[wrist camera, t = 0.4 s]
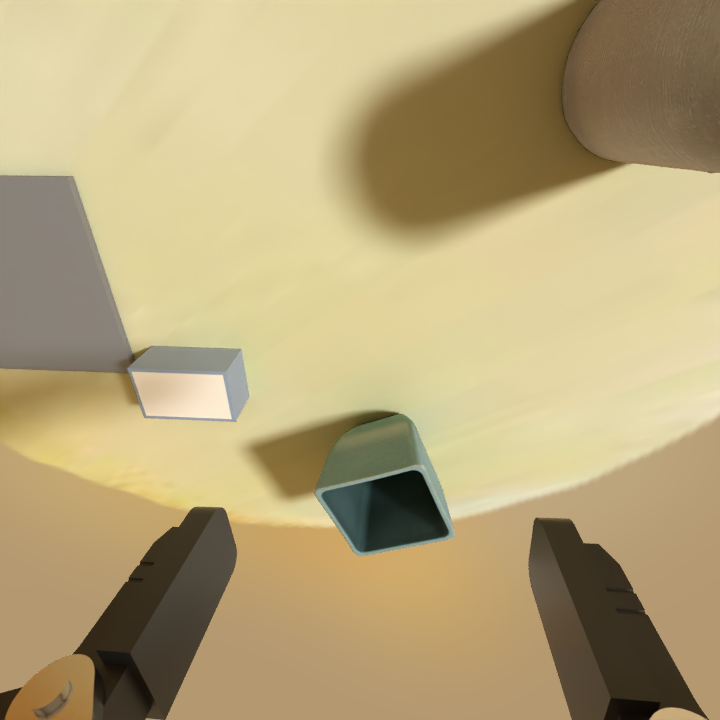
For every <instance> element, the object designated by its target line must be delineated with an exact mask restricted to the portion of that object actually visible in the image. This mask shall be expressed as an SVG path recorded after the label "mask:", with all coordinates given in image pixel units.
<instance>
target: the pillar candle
mask: <svg viewBox="0 0 720 720" xmlns="http://www.w3.org/2000/svg"><path fill="white" fill-rule="evenodd" d="M562 102H563V111H564V116H565V119H566V122H567V124H568V126H569V128H570V130H571V131H572V133H573V134H574V135H575V137H576V138H577V139H578V141H579V142H580V143H581V145H583V146H584V147H585V148H586V149H587V150H589V151H590V152H591V153H593V154H595V155H597V156H599V157H601V158H605V159H607V160H614V161H616V162H626V163H636V164H644V165H652V166H660V167H669V168H680V169H688V170H696V171H703V172H708V173H720V0H600V1H599V2H598V3H597V4H596V6H595V7H594V8H593V9H592V11H591V12H590V14H589V15H588V17H587V18H586V20H585V21H584V23H583V25H582V27H581V28H580V30H579V32H578V34H577V36H576V38H575V40H574V42H573V45H572V47H571V50H570V52H569V55H568V59H567V62H566V67H565V70H564V75H563V85H562Z"/></svg>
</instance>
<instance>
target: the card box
mask: <svg viewBox="0 0 720 720" xmlns="http://www.w3.org/2000/svg"><path fill="white" fill-rule="evenodd" d="M127 370H128V373H129V375H130V378H131V381H132V384H133V387H134V390H135V393H136V396H137V399H138V402H139V404H140V407H141V410H142V413H143V416H144V418H158V419H182V420H205V421H229V422H236V420H237V418H238V416H239V414H240V413H241V411H242V409H243V407H244V405H245V403H246V401H247V399H248V397H249V392H248V386H247V380H246V374H245V368H244V362H243V356H242V350H241V349H227V348H197V347H168V346H151V347H150V348H149V349H148V350H147V351H146V352H145V353H144V354H142V355H141V356H140V357H139V358H138V359H137V360H136V361H135V362H133V363H132V364H131V365H130V366H129V367H128V368H127Z"/></svg>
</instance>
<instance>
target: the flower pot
mask: <svg viewBox="0 0 720 720" xmlns="http://www.w3.org/2000/svg"><path fill="white" fill-rule="evenodd" d="M314 494H315V496H316V498H317V499H318V501H319V502H320V503H321V505H322V506H323V508H324V509H325V511H326V512H327V513H328V515H329V516H330V518H331V519H332V520H333V522H334V523H335V525H336V526H337V528H338V529H339V531H340V532H341V533H342V535H343V536H344V538H345V540H346V541H347V542H348V544H349V546H350V548H351V549H352V551H353V552H354V553H355V554H356V555H358V556H366V555H372V554H377V553H382V552H387V551H391V550H397V549H401V548H407V547H412V546H417V545H424V544H428V543H433V542H439V541H444V540H448V539H450V538H453V537H454V536H455V532H454V529H453V524H452V521H451V517H450V514H449V510H448V507H447V503H446V500H445V496H444V493H443V489H442V486H441V484H440V481H439V479H438V476H437V474H436V472H435V470H434V468H433V466H432V463H431V461H430V459H429V456H428V454H427V452H426V450H425V447H424V445H423V443H422V441H421V438H420V436H419V434H418V431H417V429H416V427H415V425H414V423H413V422H412V421H411V420H410V419H409V418H408V417H407V416H405V415H403V414H398V415H394V416H390V417H387V418H383V419H380V420H376V421H373V422H369V423H366V424H362V425H359V426H356V427H354V428H352V429H351V430H349V431H348V432H346V433H345V434H344V435H343V436H341V437H340V438H339V439H338V441H337V442H336V443H335V444H334V446H333V447H332V449H331V451H330V453H329V455H328V457H327V460H326V462H325V465H324V468H323V470H322V473H321V475H320V478H319V481H318V484H317V486H316V489H315V492H314Z"/></svg>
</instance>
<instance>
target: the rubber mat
mask: <svg viewBox="0 0 720 720" xmlns="http://www.w3.org/2000/svg"><path fill="white" fill-rule="evenodd" d="M133 362H135V361H134V358H133V355H132V352H131V349H130V346H129V343H128V340H127V337H126V334H125V331H124V328H123V325H122V322H121V319H120V316H119V313H118V310H117V307H116V304H115V301H114V298H113V295H112V292H111V289H110V286H109V283H108V280H107V277H106V274H105V271H104V268H103V265H102V262H101V259H100V256H99V253H98V250H97V247H96V244H95V241H94V238H93V235H92V232H91V229H90V226H89V223H88V220H87V217H86V214H85V211H84V208H83V205H82V202H81V199H80V196H79V193H78V190H77V187H76V184H75V181H74V178H73V176H0V368H4V369H32V370H60V371H87V372H115V373H128V370H127V368H128V367H129V366H130V365H131V364H132V363H133Z"/></svg>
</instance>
